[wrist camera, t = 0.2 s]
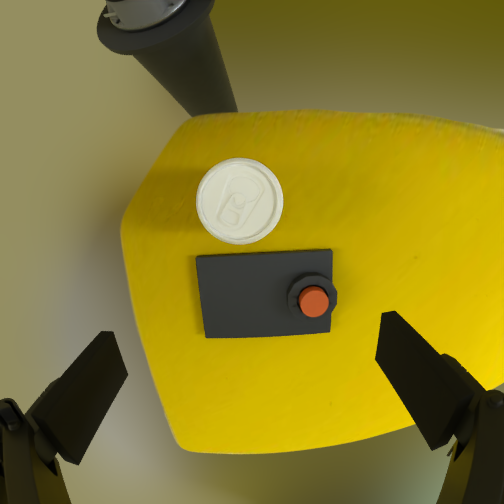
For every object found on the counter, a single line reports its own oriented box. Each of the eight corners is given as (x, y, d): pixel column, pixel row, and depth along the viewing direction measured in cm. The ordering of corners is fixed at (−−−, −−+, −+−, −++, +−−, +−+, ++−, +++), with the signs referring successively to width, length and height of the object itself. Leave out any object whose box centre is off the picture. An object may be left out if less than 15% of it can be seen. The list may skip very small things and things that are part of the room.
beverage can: (287, 185, 35) (299, 179, 23) (260, 241, 36) (259, 262, 25) (230, 159, 35) (215, 141, 23) (204, 215, 36) (178, 224, 24)
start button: (298, 312, 35) (300, 318, 34) (298, 287, 35) (300, 291, 33) (325, 310, 35) (328, 316, 34) (326, 285, 35) (329, 289, 33)
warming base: (207, 334, 40) (203, 344, 37) (197, 255, 37) (192, 260, 34) (330, 328, 39) (334, 338, 36) (332, 248, 36) (338, 253, 33)
